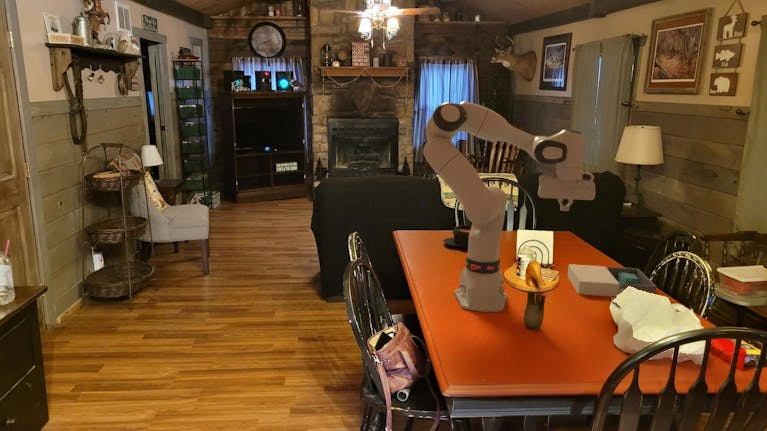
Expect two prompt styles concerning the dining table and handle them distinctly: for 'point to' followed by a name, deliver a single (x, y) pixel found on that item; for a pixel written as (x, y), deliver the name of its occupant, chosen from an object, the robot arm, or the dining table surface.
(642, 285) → the bin
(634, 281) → the tile
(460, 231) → the black brimmed hat
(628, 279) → the tile
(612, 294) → the plate
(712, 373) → the dining table surface
